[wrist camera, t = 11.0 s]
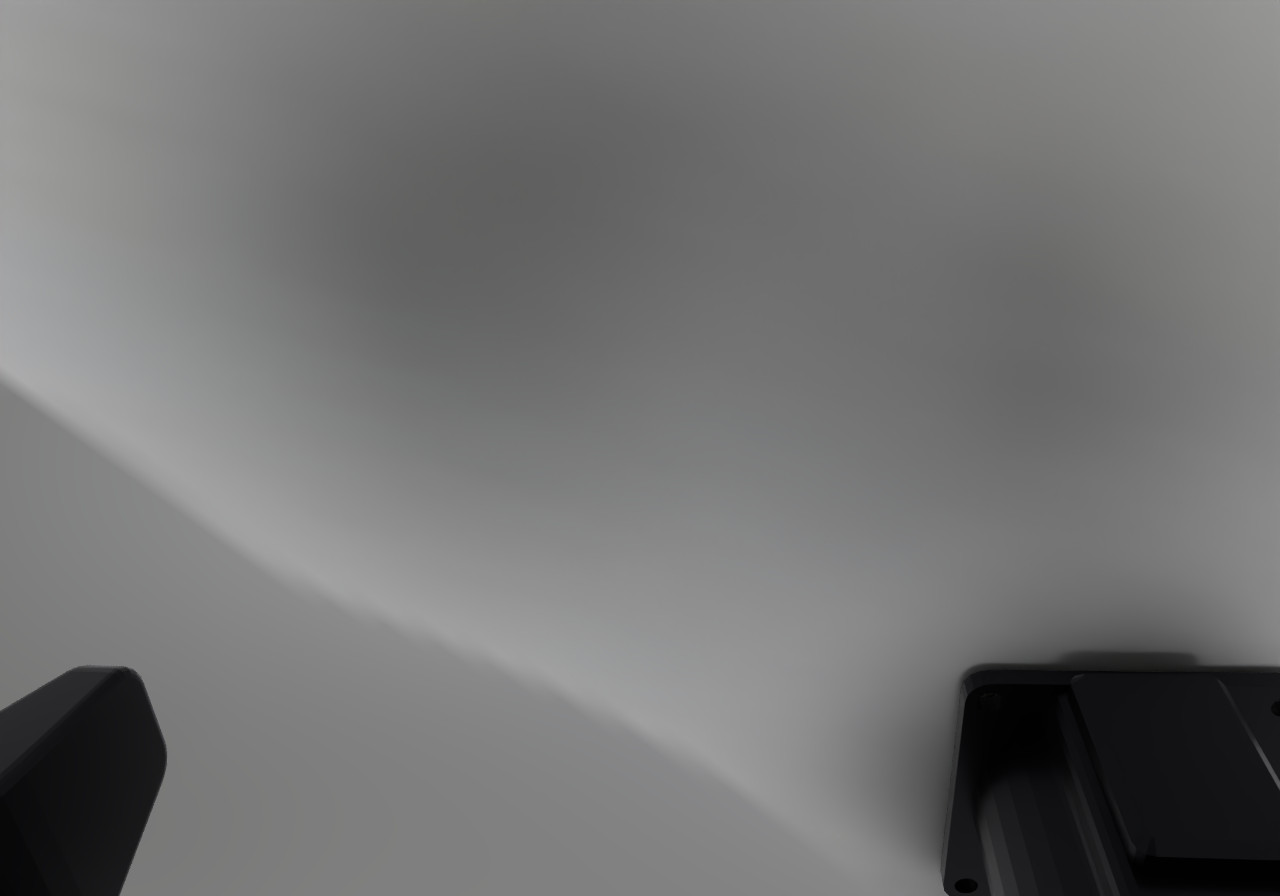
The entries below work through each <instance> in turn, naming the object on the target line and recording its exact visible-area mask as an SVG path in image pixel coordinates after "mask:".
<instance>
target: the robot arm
mask: <svg viewBox="0 0 1280 896" xmlns="http://www.w3.org/2000/svg"><path fill="white" fill-rule="evenodd" d="M989 693H994V694H997V695H995V696H993V697H991V698H981V697H982V696H983V695H985V694H989ZM1279 699H1280V673H1229V672H1137V671H1045V670H985V671H979V672H976V673H974V674H972V675H970V676H969V677H968V678H967V679H966V680H965V681H964V683H963V685H962V688H961V695H960V704H959V713H958V721H957V730H956V739H955V748H954V756H953V765H952V774H951V783H950V791H949V800H948V809H947V818H946V826H945V835H944V844H943V852H942V861H941V875H942V881H943V886H944V891H945V892H946V893H947V894H948V895H949V896H1280V701H1279V702H1275V701H1277V700H1279ZM166 765H167V751H166V744H165V740H164V737H163V735H162V732H161V729H160V726H159V723H158V721H157V718H156V715H155V713H154V710H153V707H152V704H151V702H150V699H149V696H148V693H147V690H146V688H145V685H144V682H143V680H142V678H141V676H140V675H139V674H137V672H136V671H134V670H133V669H131V668H128V667H124V666H95V665H86V666H79V667H76V668H73V669H71V670H69V671H67V672H65V673H64V674H62V675H60V676H59V677H57V678H55V679H54V680H52V681H50V682H48V683H47V684H45V685H43V686H42V687H40V688H38V689H37V690H35V691H33V692H32V693H30V694H28V695H27V696H25V697H23V698H21V699H20V700H18V701H16V702H15V703H13V704H11V705H9V706H8V707H6V708H4V709H3V710H1V711H0V896H119V895H120V893H121V890H122V887H123V885H124V882H125V880H126V877H127V874H128V872H129V869H130V866H131V864H132V861H133V858H134V856H135V853H136V850H137V848H138V845H139V842H140V840H141V837H142V835H143V832H144V829H145V827H146V824H147V821H148V819H149V816H150V813H151V811H152V808H153V805H154V803H155V800H156V797H157V795H158V792H159V790H160V787H161V784H162V781H163V778H164V775H165V770H166Z"/></svg>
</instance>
